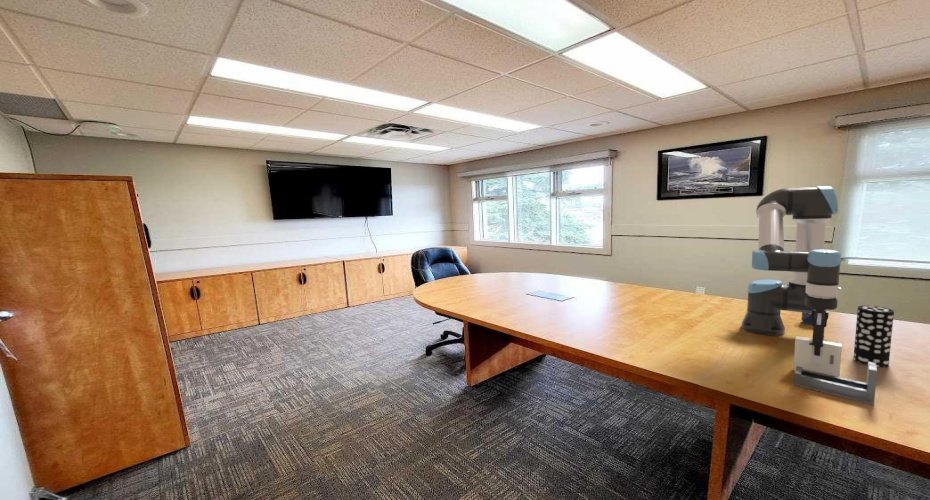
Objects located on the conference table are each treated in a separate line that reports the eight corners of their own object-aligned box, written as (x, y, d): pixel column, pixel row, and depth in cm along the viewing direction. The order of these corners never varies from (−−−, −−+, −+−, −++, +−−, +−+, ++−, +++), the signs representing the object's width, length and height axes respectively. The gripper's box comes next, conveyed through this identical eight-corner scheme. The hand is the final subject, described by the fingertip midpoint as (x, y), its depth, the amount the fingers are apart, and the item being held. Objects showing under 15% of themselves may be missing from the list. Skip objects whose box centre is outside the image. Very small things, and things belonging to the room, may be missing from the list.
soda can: (797, 320, 167) (798, 297, 165) (813, 320, 166) (815, 296, 164) (809, 325, 160) (811, 301, 158) (826, 325, 159) (828, 300, 157)
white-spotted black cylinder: (893, 369, 119) (899, 313, 116) (858, 364, 123) (863, 310, 121) (881, 359, 126) (886, 306, 123) (849, 355, 130) (853, 304, 128)
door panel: (793, 371, 121) (795, 338, 120) (794, 367, 123) (796, 336, 122) (839, 381, 113) (841, 347, 112) (839, 377, 115) (841, 343, 114)
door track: (793, 385, 113) (795, 354, 111) (795, 377, 117) (797, 348, 116) (873, 405, 100) (877, 371, 99) (872, 395, 105) (875, 362, 103)
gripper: (837, 303, 107) (831, 373, 110) (838, 292, 117) (833, 356, 120) (803, 299, 112) (799, 366, 115) (807, 289, 123) (803, 351, 126)
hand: (816, 361), depth 118 cm, fingers closed on door panel, 3 cm apart
